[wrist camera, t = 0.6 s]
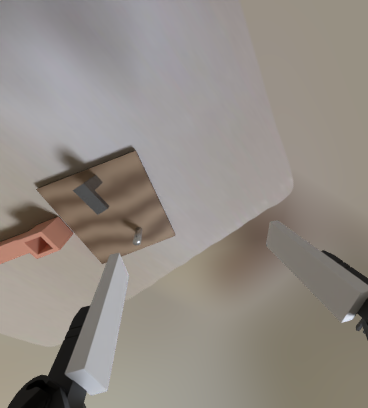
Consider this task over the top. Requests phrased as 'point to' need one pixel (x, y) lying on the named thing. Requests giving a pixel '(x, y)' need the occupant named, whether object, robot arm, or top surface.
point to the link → (36, 241)
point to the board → (112, 207)
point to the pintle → (137, 236)
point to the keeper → (92, 194)
